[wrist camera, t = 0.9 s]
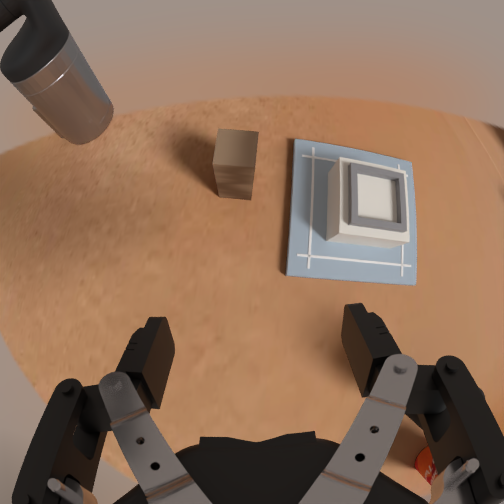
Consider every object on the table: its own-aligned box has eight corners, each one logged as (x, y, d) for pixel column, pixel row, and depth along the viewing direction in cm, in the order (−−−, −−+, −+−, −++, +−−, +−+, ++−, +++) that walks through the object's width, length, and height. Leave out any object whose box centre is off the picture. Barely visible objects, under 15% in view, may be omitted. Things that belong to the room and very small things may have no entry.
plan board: (285, 275, 35) (296, 271, 28) (293, 142, 38) (303, 114, 31) (411, 285, 36) (442, 282, 29) (407, 165, 38) (432, 145, 31)
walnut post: (219, 197, 36) (212, 163, 26) (223, 168, 37) (218, 128, 27) (250, 200, 36) (255, 167, 27) (253, 171, 37) (258, 131, 27)
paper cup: (416, 442, 32) (467, 479, 19) (450, 434, 33) (501, 462, 19) (403, 479, 31) (444, 520, 18) (436, 469, 32) (480, 503, 18)
